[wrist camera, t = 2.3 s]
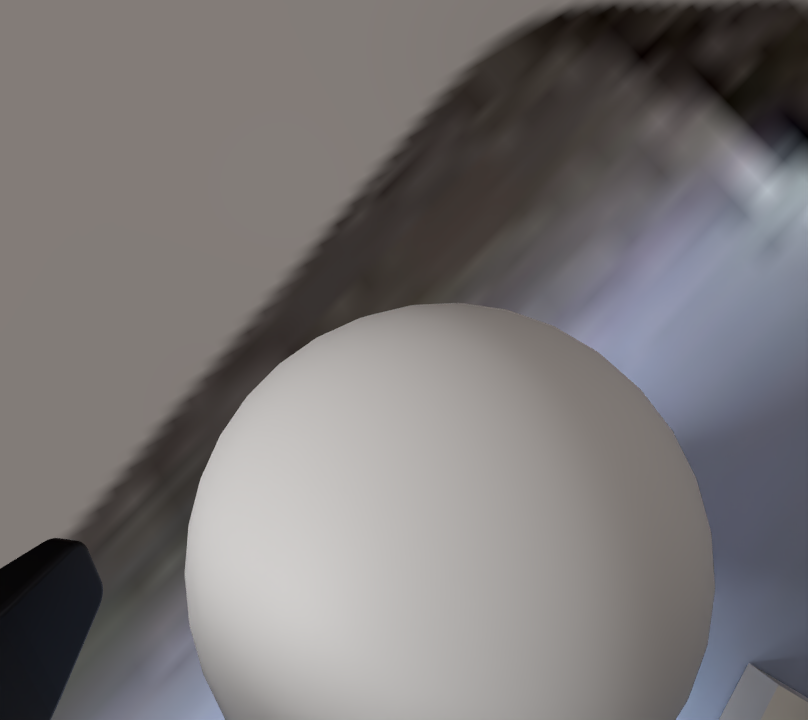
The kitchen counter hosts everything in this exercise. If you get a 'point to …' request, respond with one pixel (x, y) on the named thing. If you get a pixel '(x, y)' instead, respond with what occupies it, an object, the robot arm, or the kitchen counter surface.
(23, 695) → the robot arm
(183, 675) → the kitchen counter surface
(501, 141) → the kitchen counter surface
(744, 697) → the socket board
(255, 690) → the lightbulb
